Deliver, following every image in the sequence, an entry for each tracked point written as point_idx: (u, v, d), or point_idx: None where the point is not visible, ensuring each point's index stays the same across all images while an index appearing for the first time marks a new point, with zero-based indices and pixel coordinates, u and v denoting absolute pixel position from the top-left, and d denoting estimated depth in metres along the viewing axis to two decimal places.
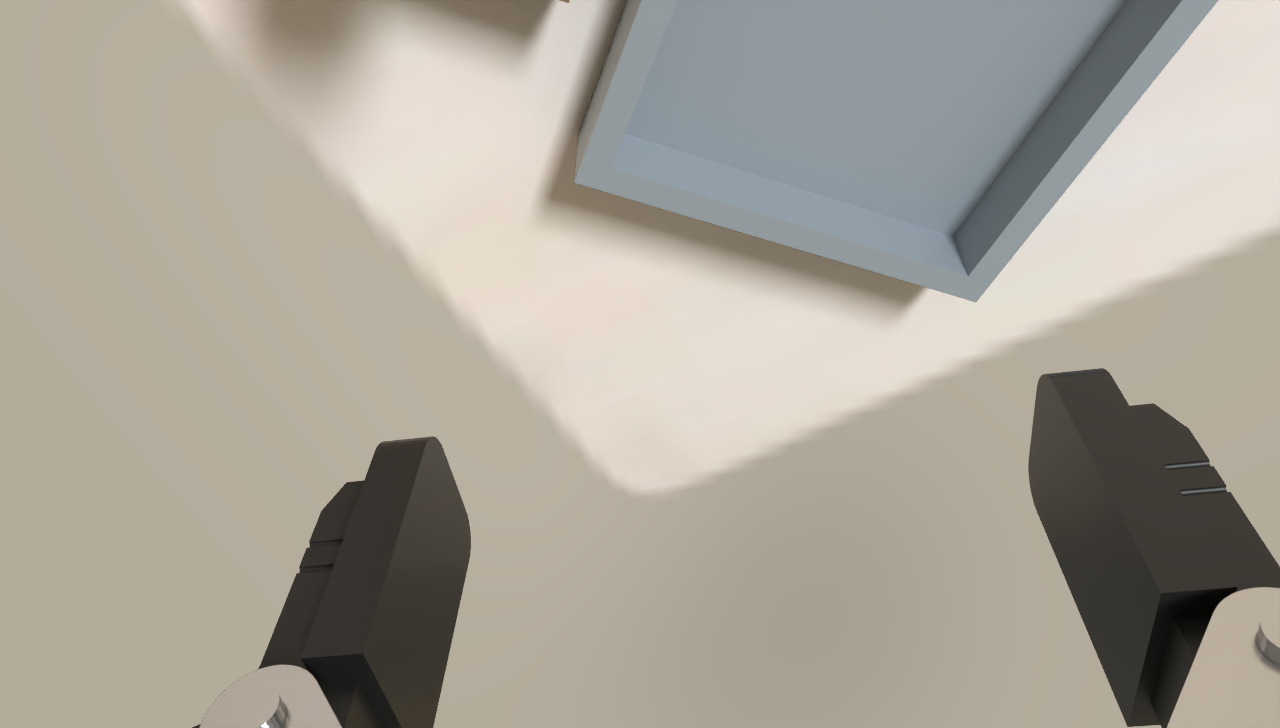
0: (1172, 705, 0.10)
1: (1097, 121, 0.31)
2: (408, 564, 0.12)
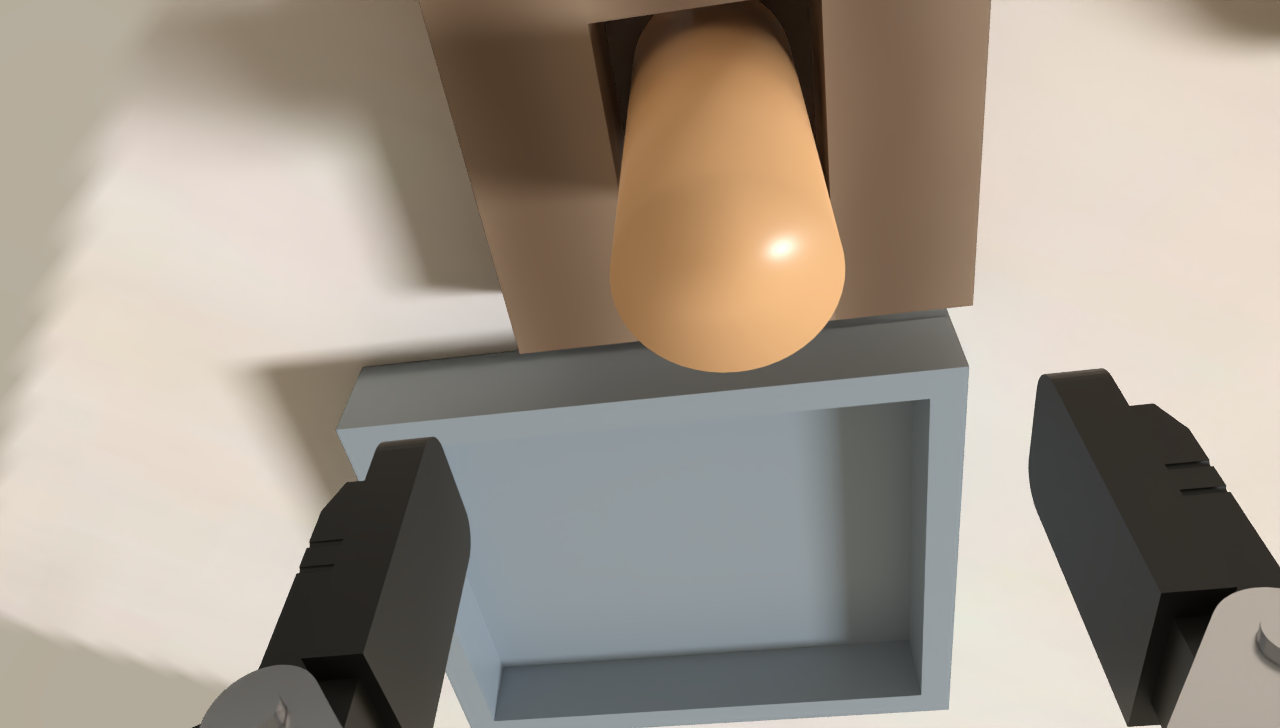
0: (1173, 705, 0.10)
1: (676, 714, 0.36)
2: (408, 564, 0.12)
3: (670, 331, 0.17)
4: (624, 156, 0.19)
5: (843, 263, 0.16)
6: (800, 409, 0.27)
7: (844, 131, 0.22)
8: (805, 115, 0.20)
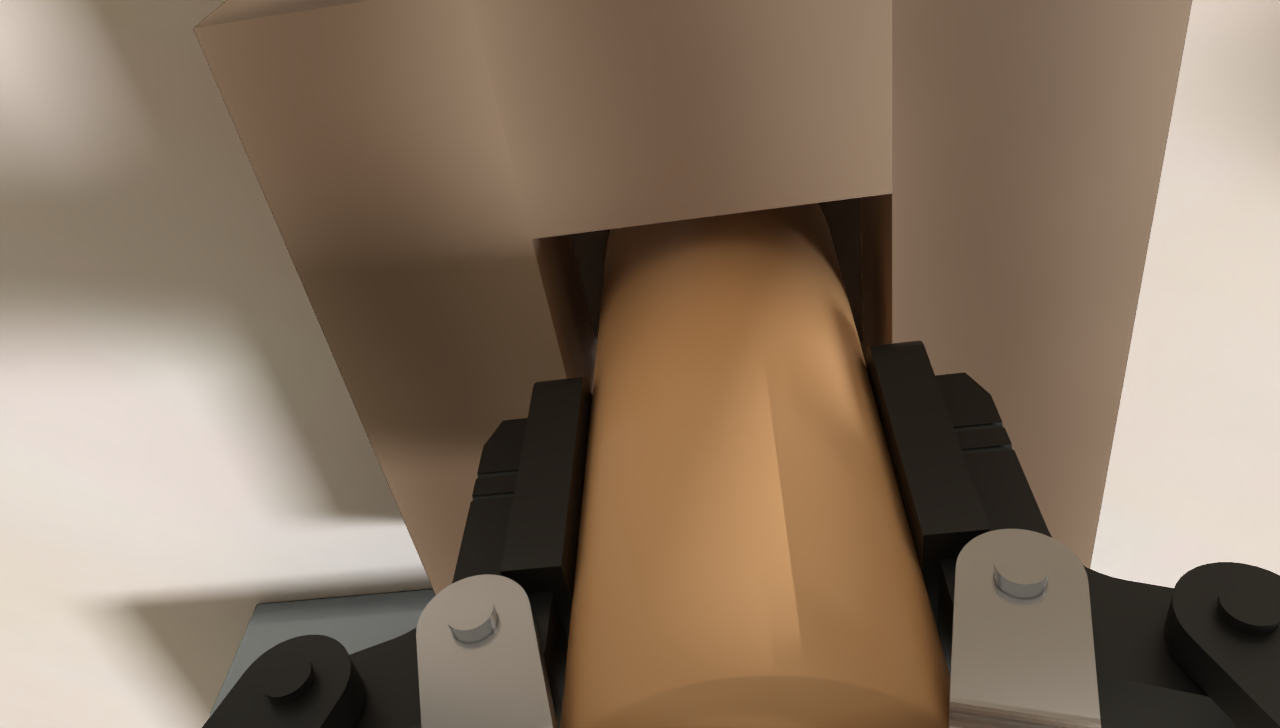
0: (944, 639, 0.11)
1: None
2: (579, 492, 0.12)
3: None
4: (586, 490, 0.12)
5: None
6: None
7: None
8: (874, 411, 0.12)
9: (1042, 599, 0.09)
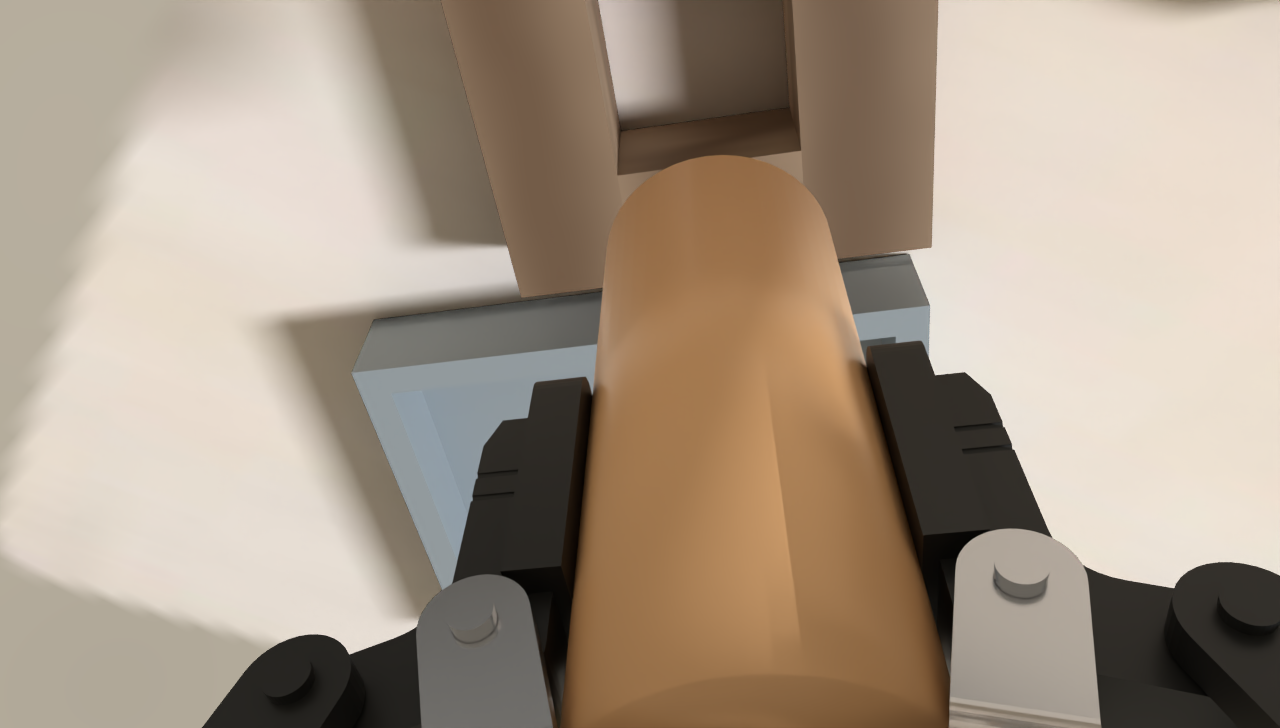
0: (944, 638, 0.11)
1: None
2: (579, 492, 0.12)
3: None
4: (586, 489, 0.12)
5: None
6: None
7: (812, 85, 0.25)
8: (874, 410, 0.12)
9: (1042, 599, 0.09)
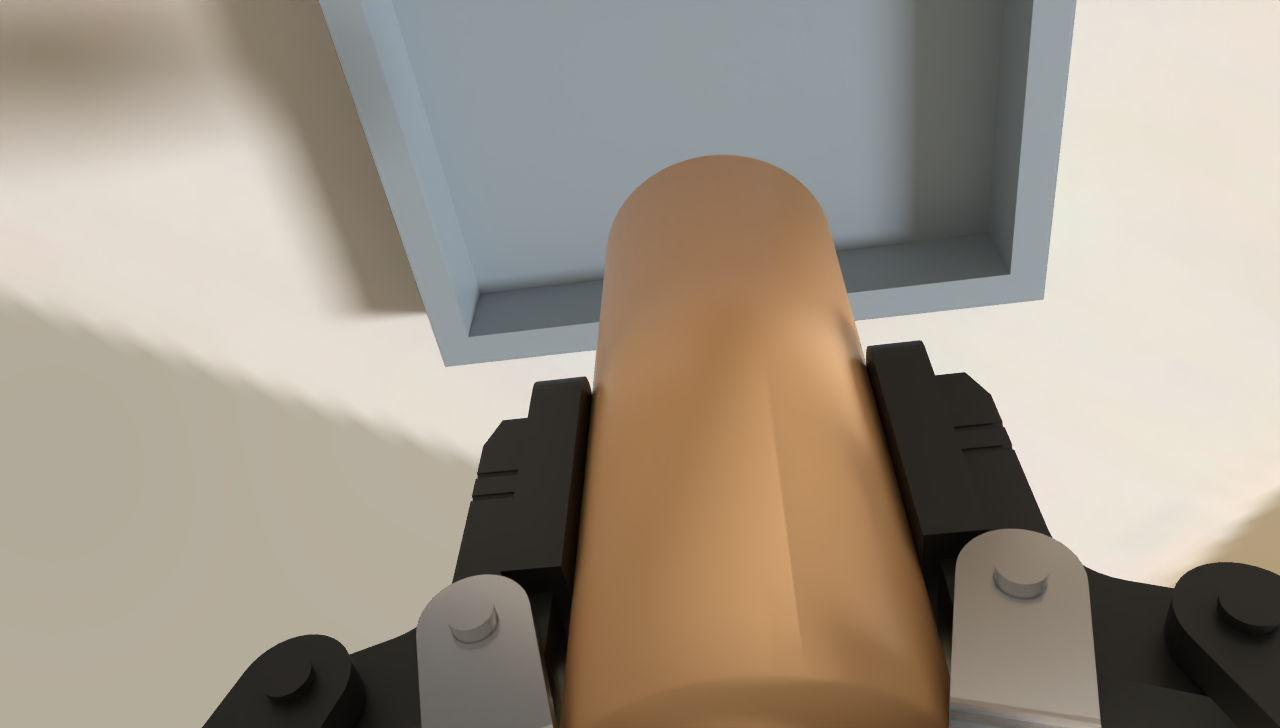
0: (944, 638, 0.11)
1: None
2: (578, 492, 0.12)
3: None
4: (585, 489, 0.12)
5: None
6: None
7: None
8: (874, 410, 0.12)
9: (1042, 599, 0.09)
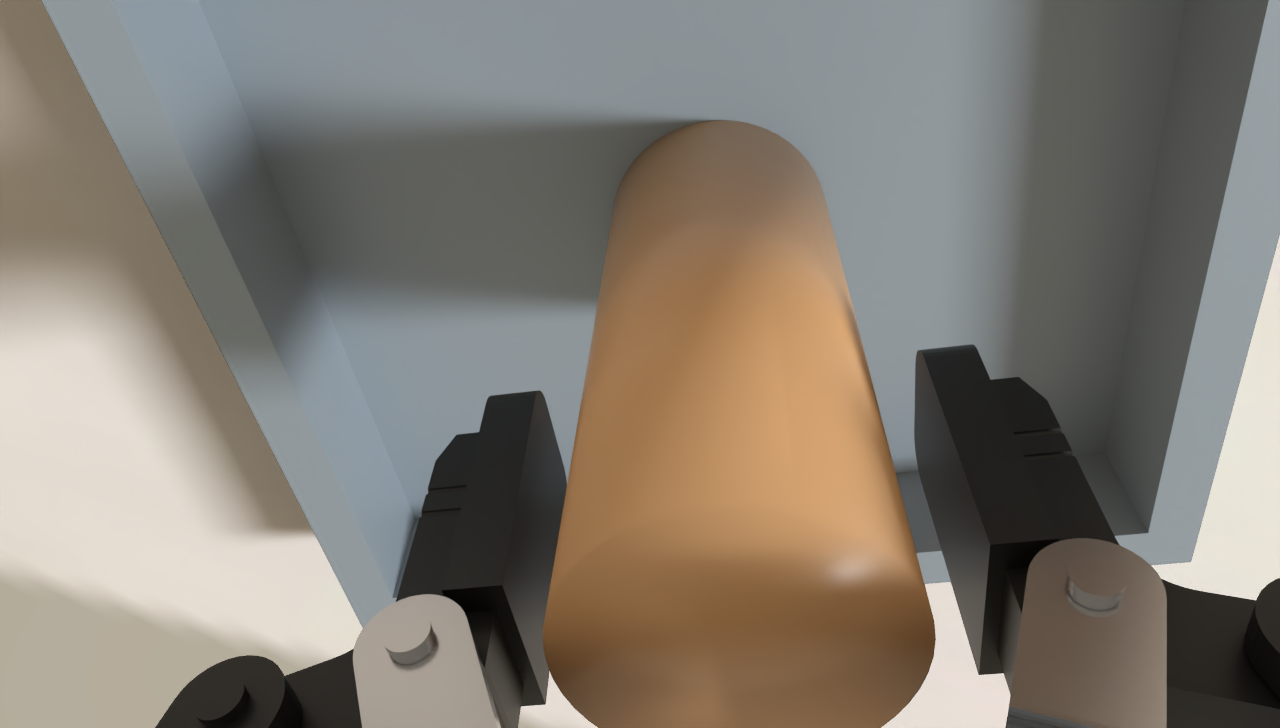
0: (1008, 650, 0.10)
1: None
2: (528, 508, 0.12)
3: (644, 714, 0.11)
4: (583, 396, 0.13)
5: (932, 634, 0.10)
6: None
7: None
8: (855, 331, 0.13)
9: (1120, 611, 0.09)
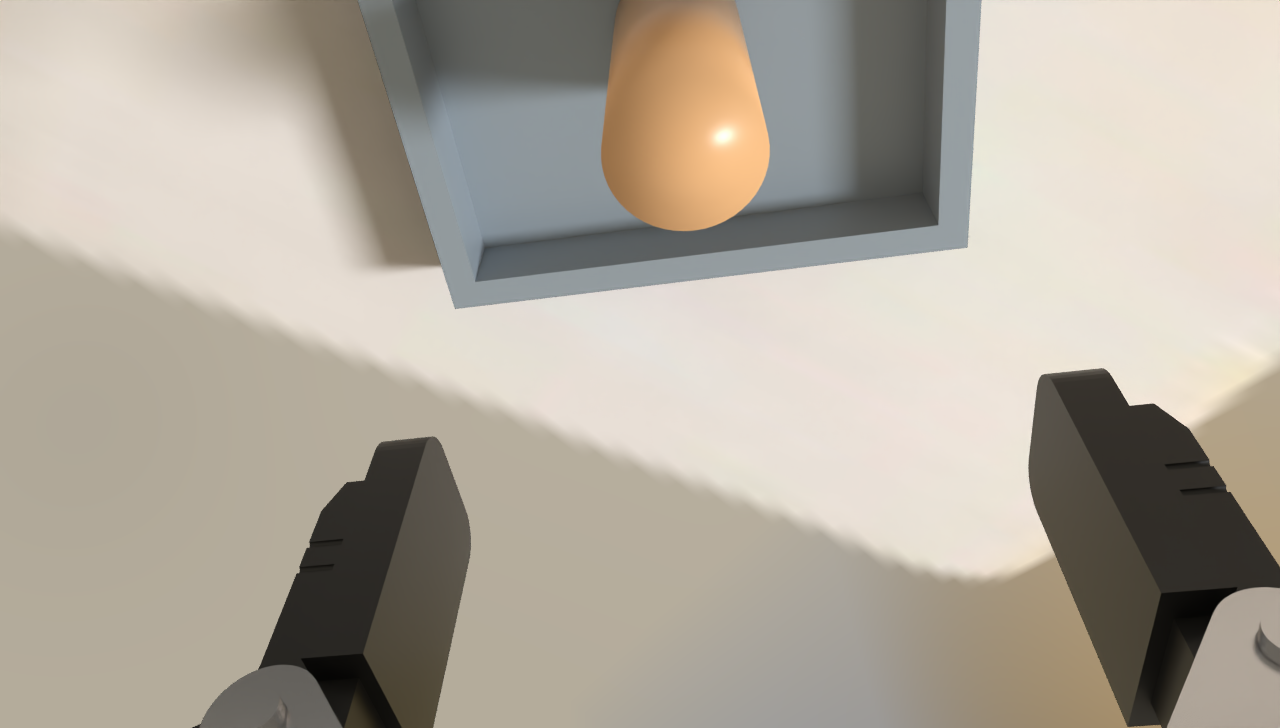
0: (1172, 706, 0.10)
1: (673, 264, 0.34)
2: (408, 564, 0.12)
3: (644, 198, 0.24)
4: (609, 78, 0.26)
5: (768, 143, 0.23)
6: None
7: None
8: (745, 50, 0.26)
9: None
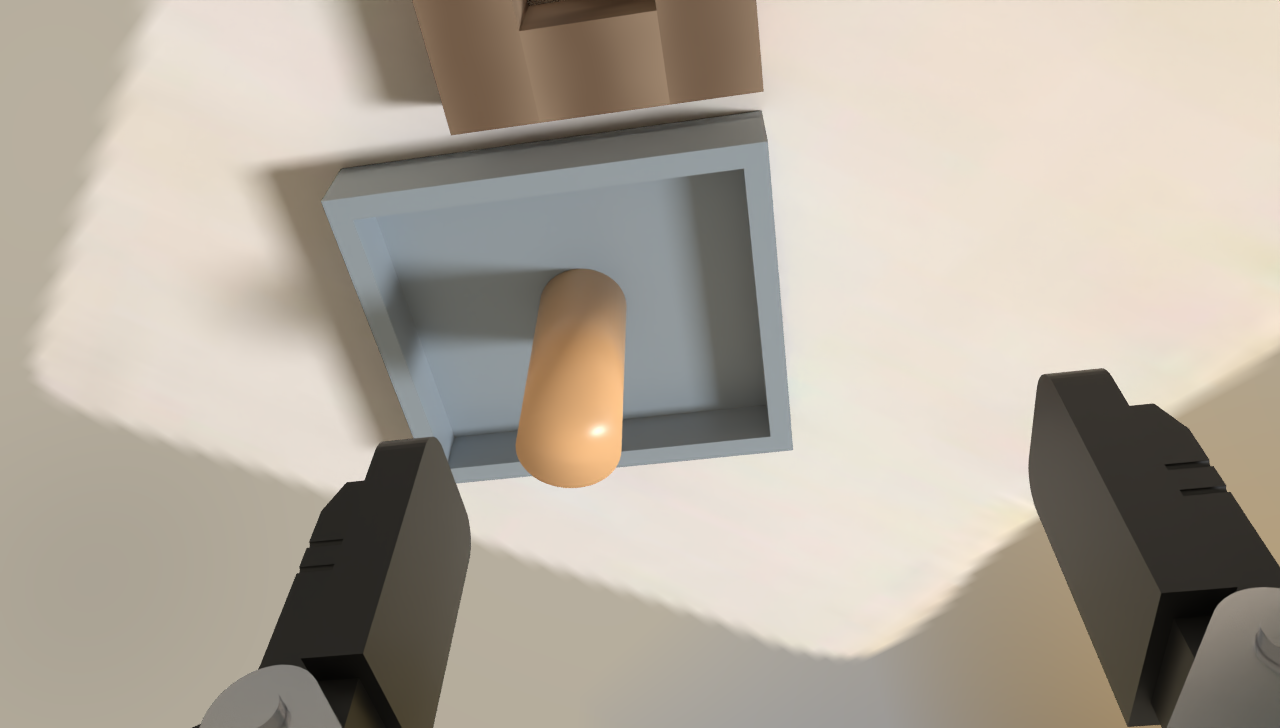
0: (1172, 705, 0.10)
1: None
2: (408, 564, 0.12)
3: (544, 470, 0.37)
4: (527, 378, 0.39)
5: (620, 443, 0.36)
6: (653, 179, 0.38)
7: None
8: (617, 356, 0.40)
9: None
